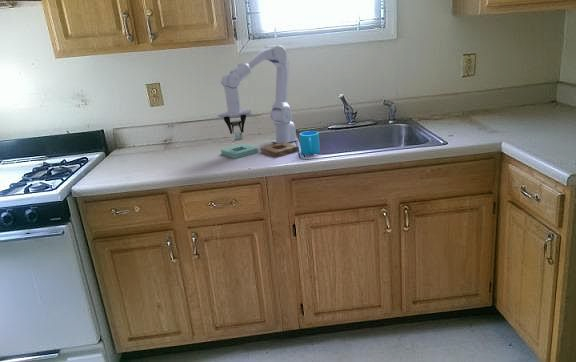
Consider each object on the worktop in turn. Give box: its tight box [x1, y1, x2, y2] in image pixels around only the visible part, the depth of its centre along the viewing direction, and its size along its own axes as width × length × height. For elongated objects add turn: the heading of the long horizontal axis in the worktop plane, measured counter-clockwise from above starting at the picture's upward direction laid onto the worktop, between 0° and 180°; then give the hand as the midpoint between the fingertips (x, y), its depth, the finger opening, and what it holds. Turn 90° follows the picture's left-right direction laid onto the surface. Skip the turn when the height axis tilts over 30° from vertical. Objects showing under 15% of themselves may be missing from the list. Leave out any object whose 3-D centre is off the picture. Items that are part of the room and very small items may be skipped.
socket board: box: [220, 143, 259, 159], centre depth 201 cm, size 12×12×2 cm
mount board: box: [260, 142, 300, 158], centre depth 198 cm, size 12×12×2 cm
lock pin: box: [230, 119, 244, 142], centre depth 198 cm, size 5×5×8 cm
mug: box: [299, 130, 321, 155], centre depth 190 cm, size 12×8×8 cm
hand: (237, 132), depth 199 cm, fingers closed on lock pin, 4 cm apart
